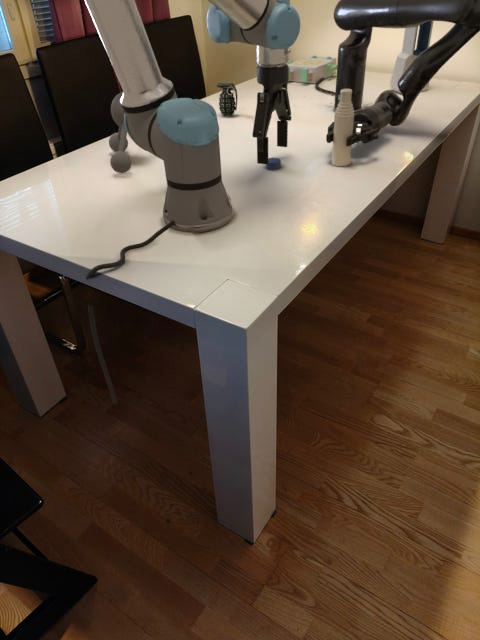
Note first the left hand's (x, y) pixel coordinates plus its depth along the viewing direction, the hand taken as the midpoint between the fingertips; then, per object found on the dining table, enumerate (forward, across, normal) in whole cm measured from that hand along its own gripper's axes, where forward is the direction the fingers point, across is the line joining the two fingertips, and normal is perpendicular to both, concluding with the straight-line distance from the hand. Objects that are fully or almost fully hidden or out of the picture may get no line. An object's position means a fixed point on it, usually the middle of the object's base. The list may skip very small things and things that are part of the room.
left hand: (272, 154), depth 127 cm
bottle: (+3, +8, -16) cm, 18 cm away
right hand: (-3, +6, -16) cm, 17 cm away
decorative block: (+3, +101, +23) cm, 104 cm away
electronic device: (+3, +89, -20) cm, 91 cm away
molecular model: (+3, -5, +37) cm, 37 cm away
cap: (+2, 0, 0) cm, 2 cm away
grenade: (+3, +40, +33) cm, 52 cm away
